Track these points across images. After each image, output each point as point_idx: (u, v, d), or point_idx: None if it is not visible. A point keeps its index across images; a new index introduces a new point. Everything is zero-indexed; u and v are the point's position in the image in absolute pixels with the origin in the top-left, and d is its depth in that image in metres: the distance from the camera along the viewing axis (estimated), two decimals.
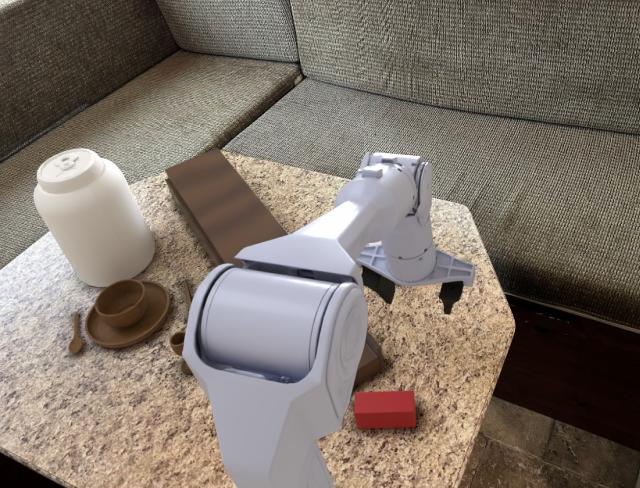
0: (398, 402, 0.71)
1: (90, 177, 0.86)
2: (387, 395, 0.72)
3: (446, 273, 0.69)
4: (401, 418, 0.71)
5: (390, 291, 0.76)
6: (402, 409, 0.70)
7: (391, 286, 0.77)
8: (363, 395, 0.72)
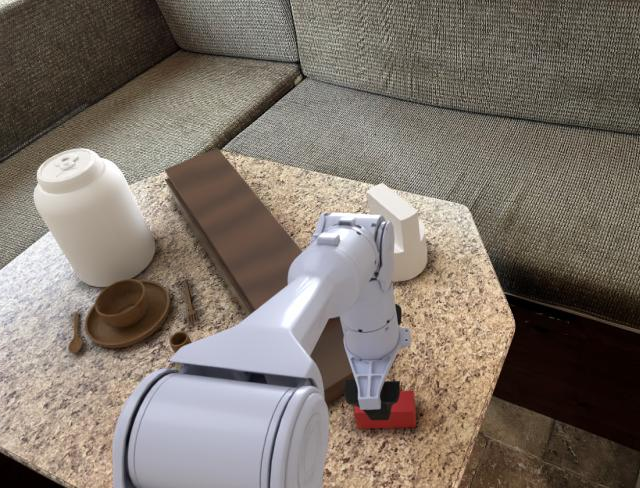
0: (398, 402, 0.71)
1: (90, 177, 0.86)
2: None
3: None
4: (401, 418, 0.71)
5: None
6: (402, 409, 0.70)
7: None
8: None
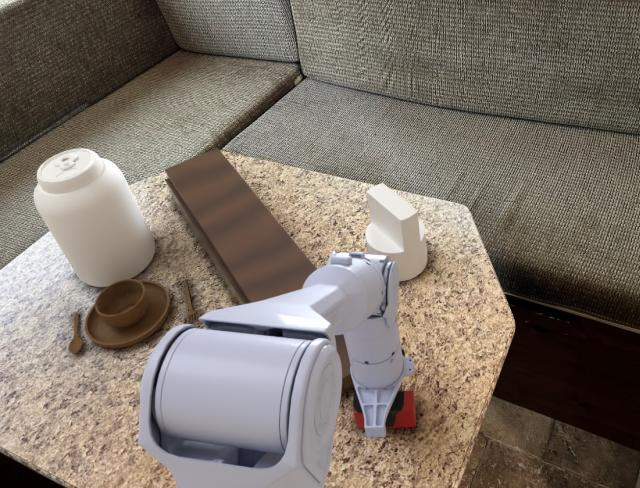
0: None
1: (90, 177, 0.86)
2: None
3: (370, 403, 0.64)
4: (401, 417, 0.71)
5: None
6: (402, 409, 0.70)
7: None
8: None
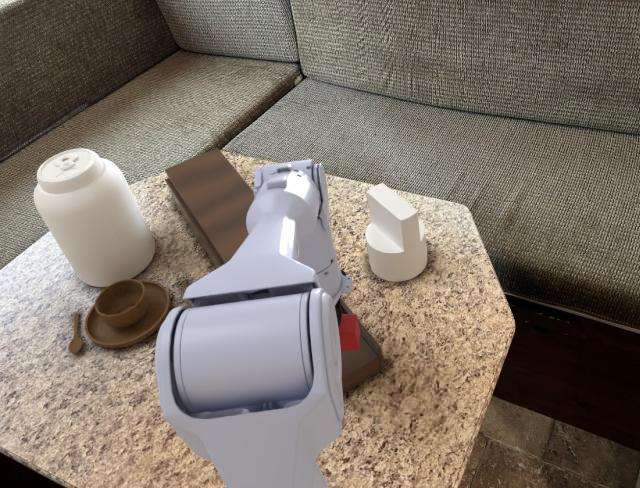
0: (341, 324, 0.72)
1: (90, 177, 0.86)
2: None
3: None
4: (343, 339, 0.72)
5: None
6: (344, 330, 0.71)
7: None
8: None
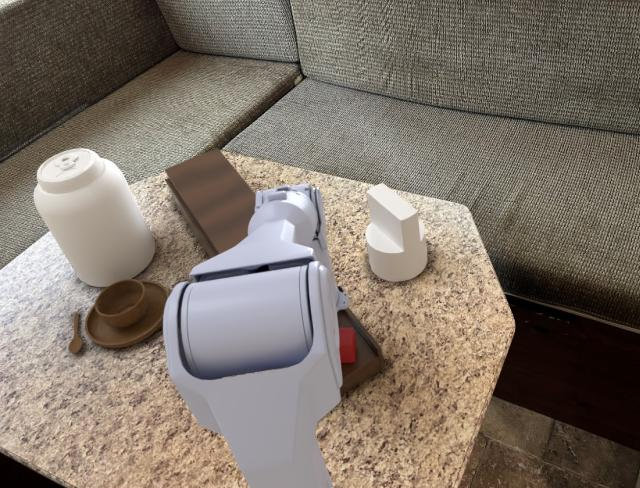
0: None
1: (90, 177, 0.86)
2: None
3: None
4: (340, 352, 0.75)
5: None
6: (340, 343, 0.74)
7: None
8: None
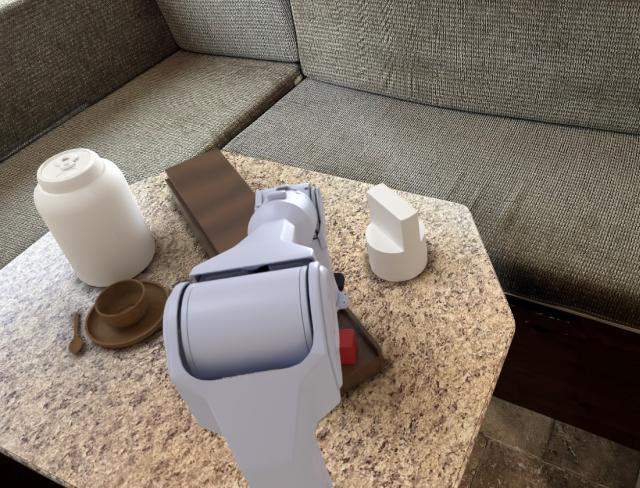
0: None
1: (90, 177, 0.86)
2: None
3: None
4: (340, 354, 0.75)
5: None
6: (341, 345, 0.74)
7: None
8: None
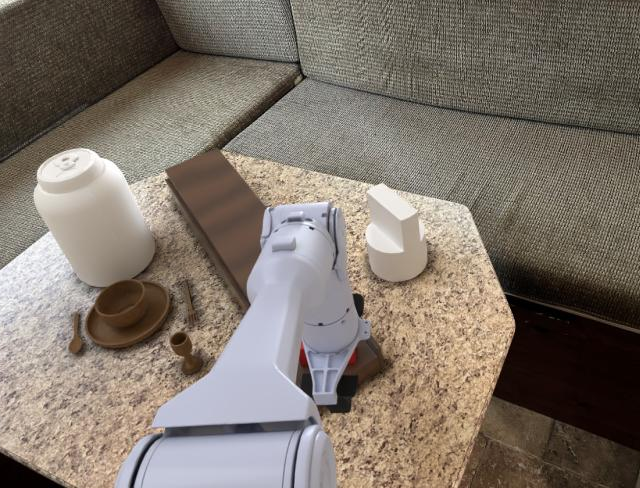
0: None
1: (90, 177, 0.86)
2: None
3: None
4: None
5: None
6: None
7: None
8: None
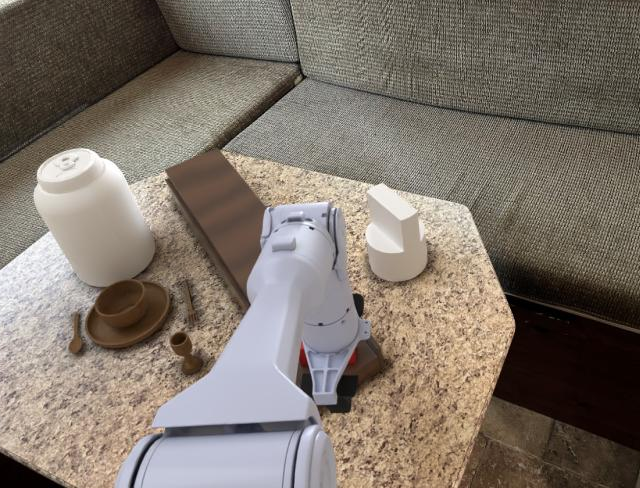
0: None
1: (90, 177, 0.86)
2: None
3: None
4: None
5: None
6: None
7: None
8: None
